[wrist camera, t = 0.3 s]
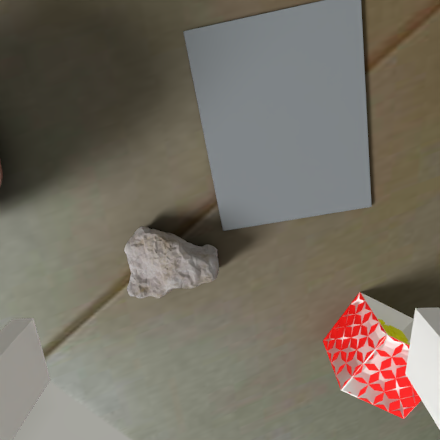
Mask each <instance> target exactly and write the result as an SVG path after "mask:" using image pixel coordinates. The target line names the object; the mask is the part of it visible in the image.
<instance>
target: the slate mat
mask: <svg viewBox="0 0 440 440" xmlns="http://www.w3.org/2000/svg"><path fill="white" fill-rule="evenodd" d="M183 32H184V37H185V42H186V47H187V52H188V57H189V62H190V67H191V72H192V77H193V82H194V87H195V92H196V97H197V102H198V107H199V112H200V117H201V122H202V127H203V132H204V137H205V142H206V147H207V152H208V157H209V162H210V167H211V172H212V177H213V182H214V187H215V192H216V198H217V203H218V208H219V213H220V218H221V223H222V228H223V231H226V230H232V229H238V228H244V227H250V226H256V225H262V224H268V223H274V222H281V221H287V220H293V219H299V218H305V217H311V216H317V215H323V214H329V213H336V212H342V211H348V210H354V209H360V208H366V207H371V187H370V168H369V148H368V128H367V108H366V88H365V69H364V49H363V29H362V9H361V0H324V1H319V2H315V3H310V4H306V5H301V6H296V7H292V8H287V9H283V10H278V11H274V12H269V13H265V14H260V15H256V16H251V17H246V18H242V19H237V20H233V21H228V22H224V23H219V24H215V25H210V26H205V27H201V28H196V29H192V30H187V31H183Z"/></svg>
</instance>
